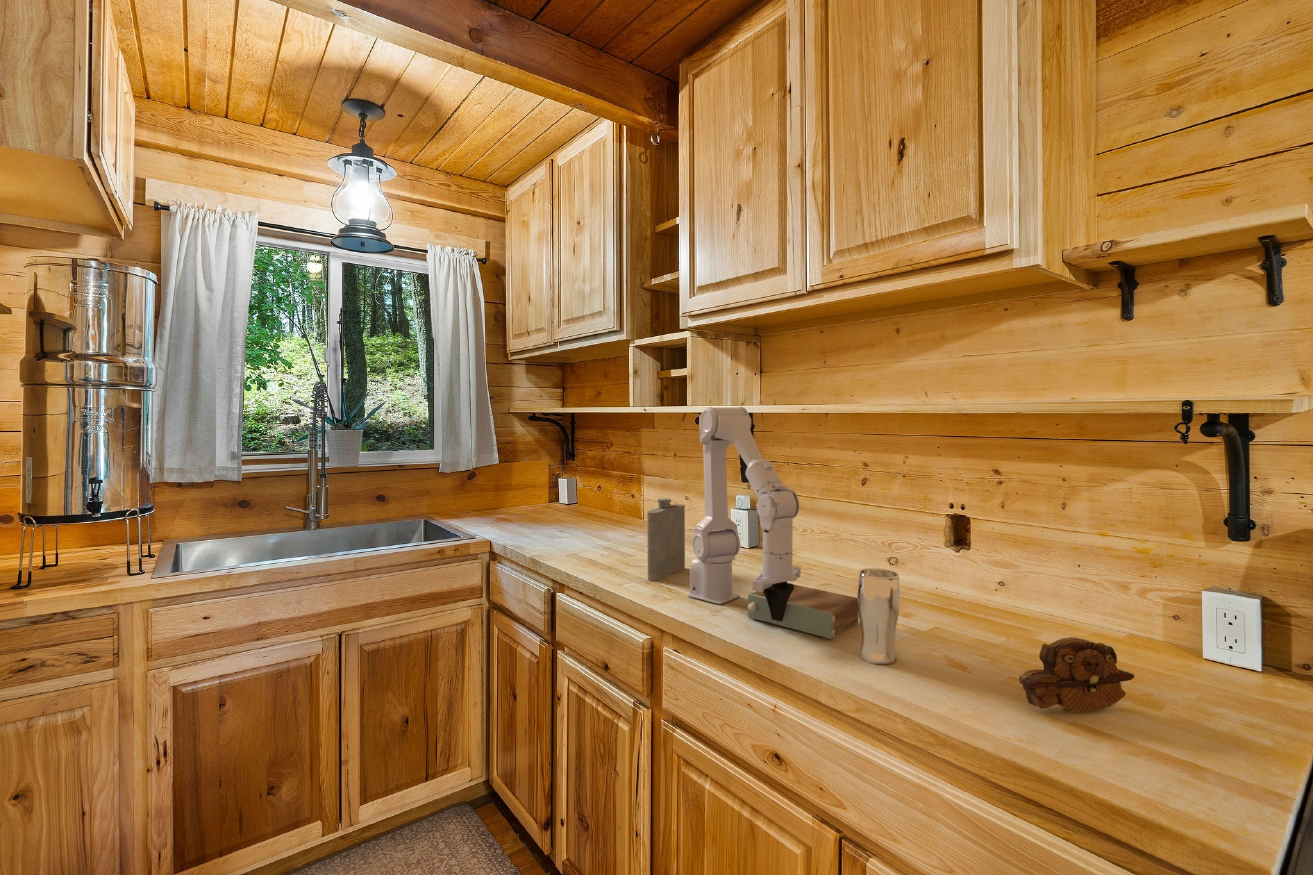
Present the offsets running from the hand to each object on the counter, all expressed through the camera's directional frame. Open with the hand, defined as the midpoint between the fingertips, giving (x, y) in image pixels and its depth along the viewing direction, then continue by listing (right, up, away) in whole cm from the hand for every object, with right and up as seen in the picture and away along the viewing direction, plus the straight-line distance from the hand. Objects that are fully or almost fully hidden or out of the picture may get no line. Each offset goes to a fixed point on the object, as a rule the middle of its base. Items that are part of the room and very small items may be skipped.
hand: (777, 619), depth 123 cm
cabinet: (+7, -2, +6) cm, 9 cm away
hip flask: (-21, 0, +42) cm, 47 cm away
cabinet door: (+2, -1, 0) cm, 2 cm away
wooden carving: (+37, -3, -33) cm, 50 cm away
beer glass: (+15, -3, -14) cm, 21 cm away
